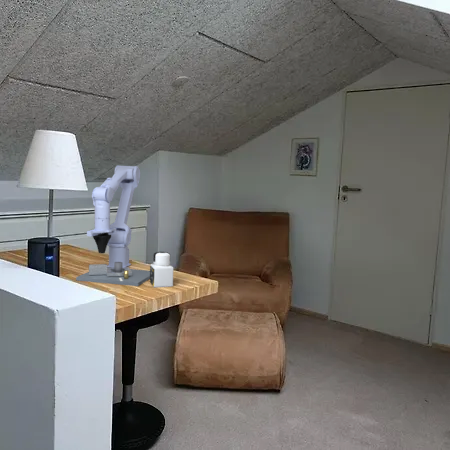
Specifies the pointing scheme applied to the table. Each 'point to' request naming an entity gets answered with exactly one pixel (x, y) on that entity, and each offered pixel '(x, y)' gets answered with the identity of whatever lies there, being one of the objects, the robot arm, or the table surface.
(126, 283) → the board
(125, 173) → the robot arm
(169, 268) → the medicine bottle
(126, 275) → the dowel
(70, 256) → the table surface
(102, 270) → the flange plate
